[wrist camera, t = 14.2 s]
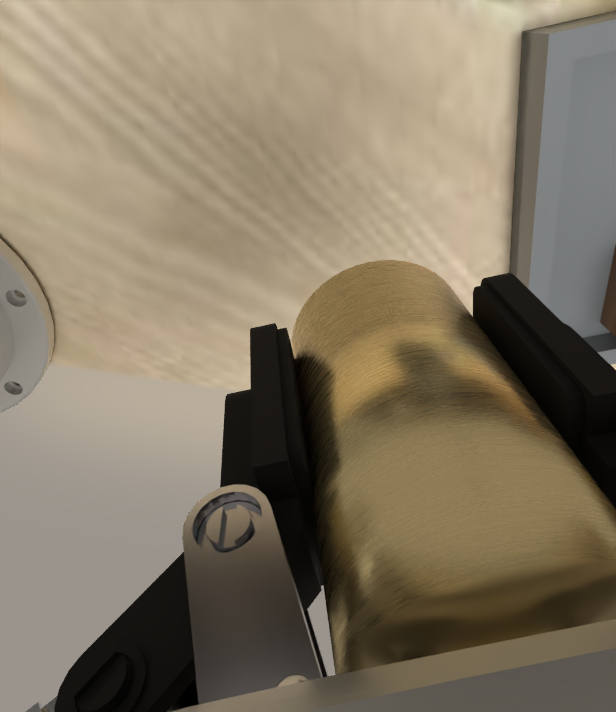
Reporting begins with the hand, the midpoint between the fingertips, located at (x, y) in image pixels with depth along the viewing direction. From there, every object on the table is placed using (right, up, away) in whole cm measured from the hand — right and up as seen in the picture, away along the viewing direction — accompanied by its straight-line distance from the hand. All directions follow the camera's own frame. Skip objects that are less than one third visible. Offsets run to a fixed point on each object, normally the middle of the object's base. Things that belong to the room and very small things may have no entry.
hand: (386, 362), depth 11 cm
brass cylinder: (0, 0, +1) cm, 1 cm away
